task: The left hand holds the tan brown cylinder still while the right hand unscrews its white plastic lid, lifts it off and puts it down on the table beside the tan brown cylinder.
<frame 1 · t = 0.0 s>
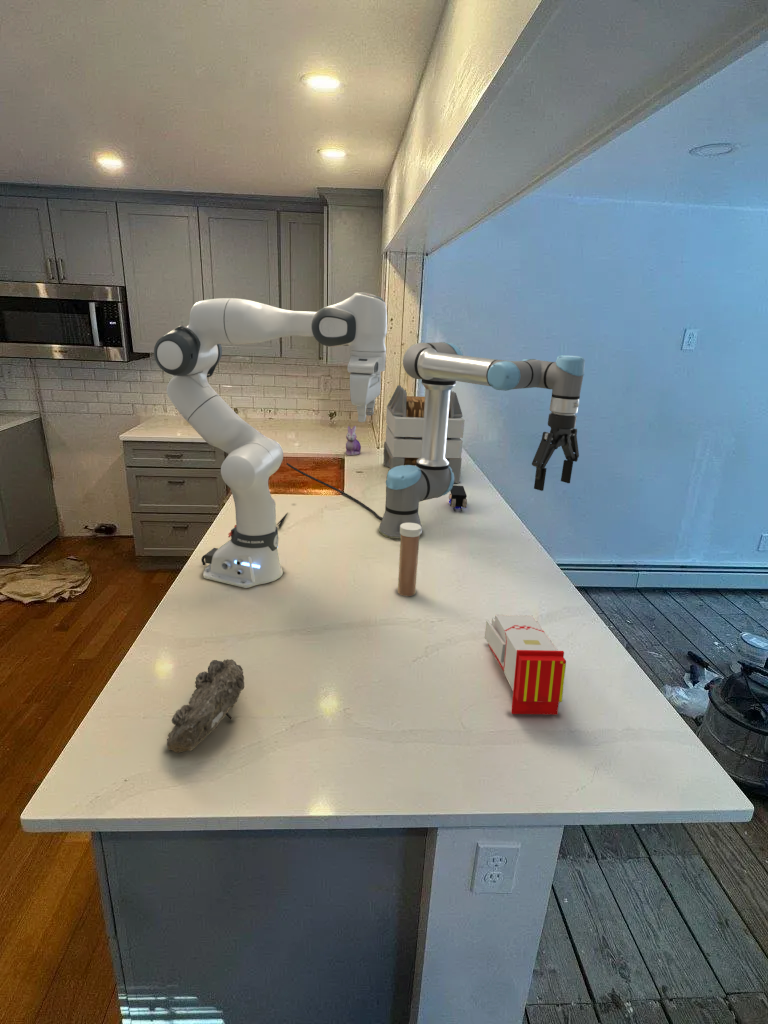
left hand: (365, 418, 145), 48 cm above the counter, tool pointing down, fingers open, 8 cm apart
right hand: (552, 485, 166), 28 cm above the counter, tool pointing down, fingers open, 13 cm apart
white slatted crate: (419, 473, 275), on the counter
toy: (516, 673, 125), on the counter
lid: (410, 527, 153), point 19 cm above the counter, screwed on, not yet turned
feather: (286, 516, 211), on the counter
figurine character: (456, 507, 229), on the counter
tan brown cylinder: (406, 591, 159), on the counter
figurine: (352, 453, 305), on the counter
fossil: (212, 717, 108), on the counter
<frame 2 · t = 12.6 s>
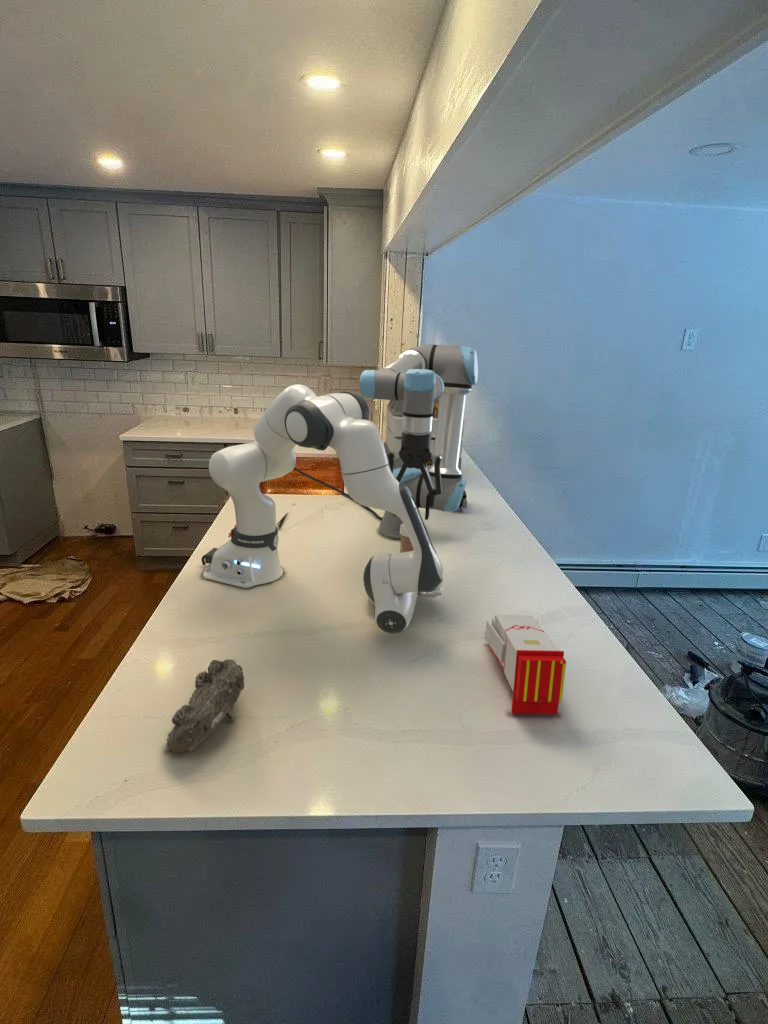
left hand: (408, 568, 158), 7 cm above the counter, tool horizontal, fingers closed on tan brown cylinder, 5 cm apart
right hand: (411, 516, 152), 23 cm above the counter, tool pointing down, fingers open, 8 cm apart
tan brown cylinder: (406, 591, 159), on the counter, touching left hand
everything else where it was.
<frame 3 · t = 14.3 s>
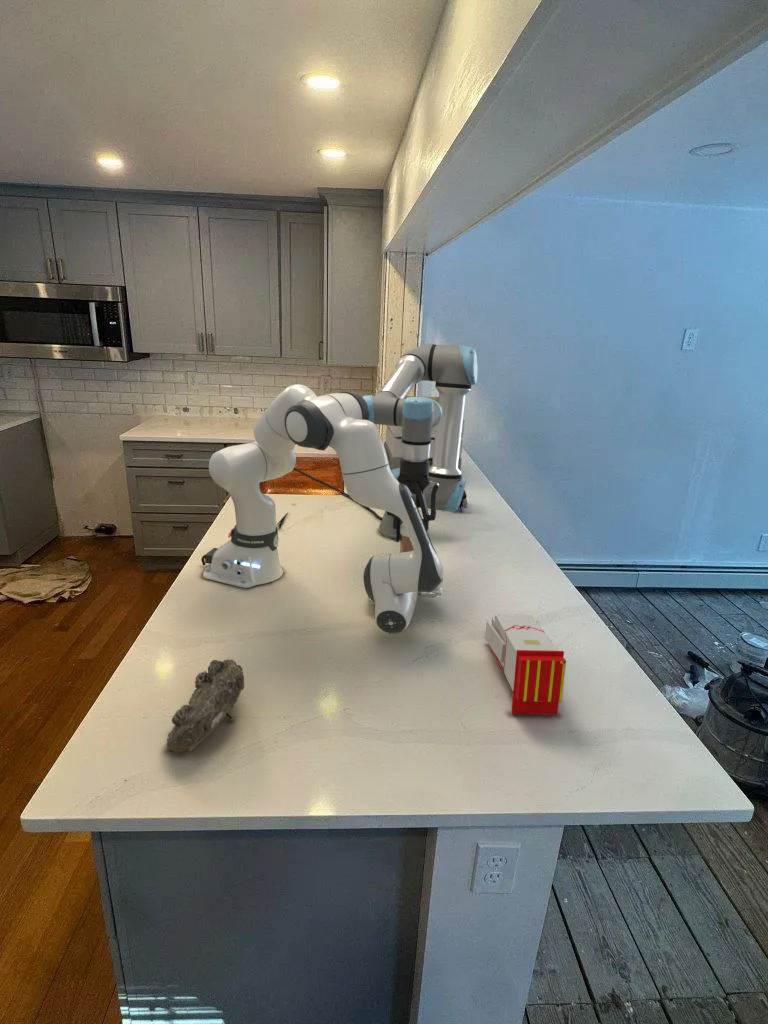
left hand: (408, 568, 158), 7 cm above the counter, tool horizontal, fingers closed on tan brown cylinder, 5 cm apart
right hand: (409, 541, 154), 15 cm above the counter, tool pointing down, fingers closed on lid, 6 cm apart
lid: (410, 527, 153), point 19 cm above the counter, screwed on, not yet turned, touching right hand
tan brown cylinder: (406, 591, 159), on the counter, touching left hand
everything else where it was.
when the right hand's fingers open (16 cm above the counter, at t = 15.7 s): lid stays where it is, point 20 cm above the counter.
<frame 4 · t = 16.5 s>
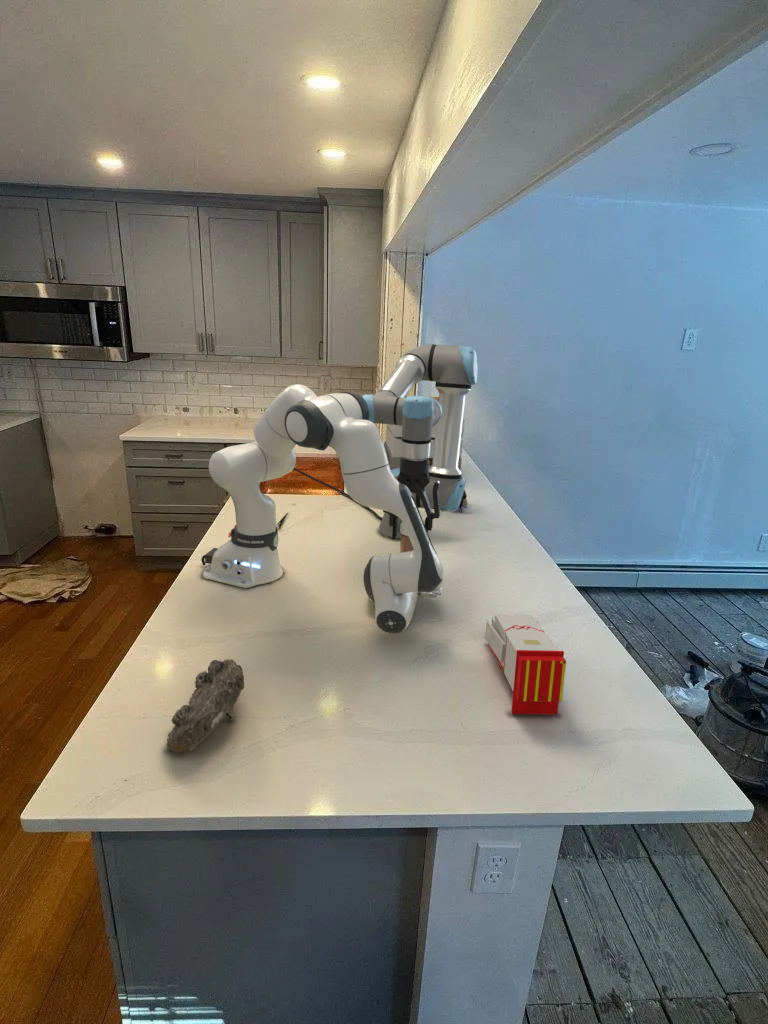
left hand: (408, 568, 158), 7 cm above the counter, tool horizontal, fingers closed on tan brown cylinder, 5 cm apart
right hand: (409, 539, 154), 16 cm above the counter, tool pointing down, fingers open, 8 cm apart
lid: (410, 526, 153), point 20 cm above the counter, turned 91° so far, risen 0.3 cm, still on its thread
tan brown cylinder: (406, 591, 159), on the counter, touching left hand
everything else where it was.
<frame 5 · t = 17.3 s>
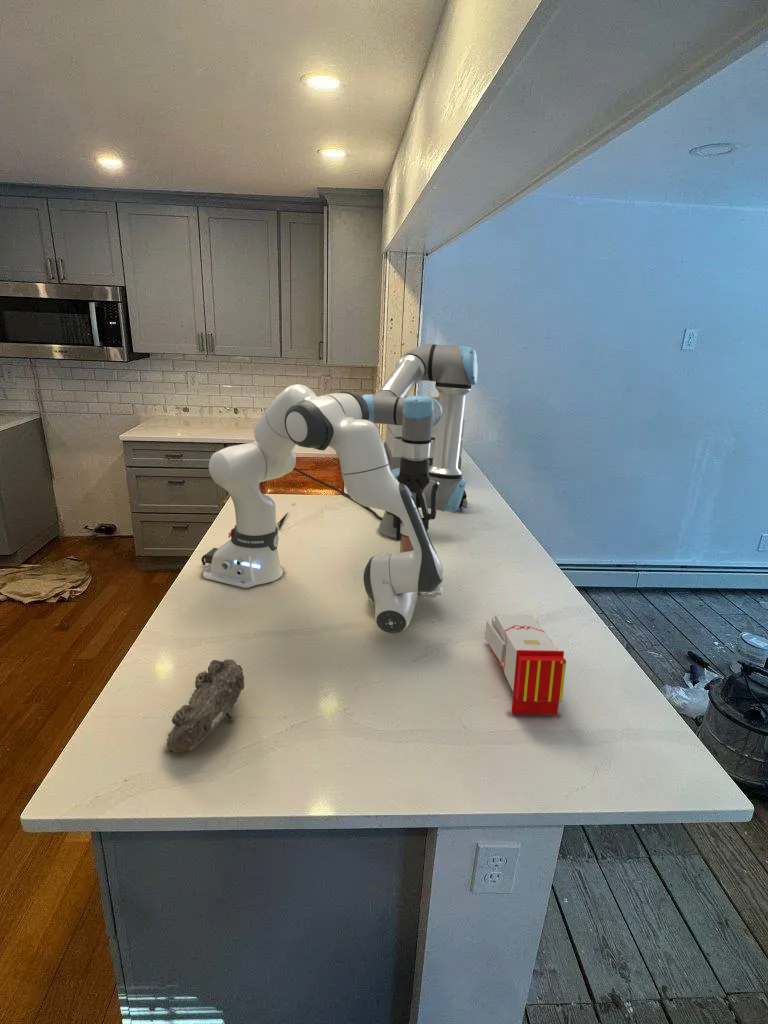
left hand: (408, 568, 158), 7 cm above the counter, tool horizontal, fingers closed on tan brown cylinder, 5 cm apart
right hand: (409, 540, 154), 16 cm above the counter, tool pointing down, fingers closed on lid, 6 cm apart
lid: (410, 526, 153), point 20 cm above the counter, turned 91° so far, risen 0.3 cm, still on its thread, touching right hand
tan brown cylinder: (406, 591, 159), on the counter, touching left hand
everything else where it was.
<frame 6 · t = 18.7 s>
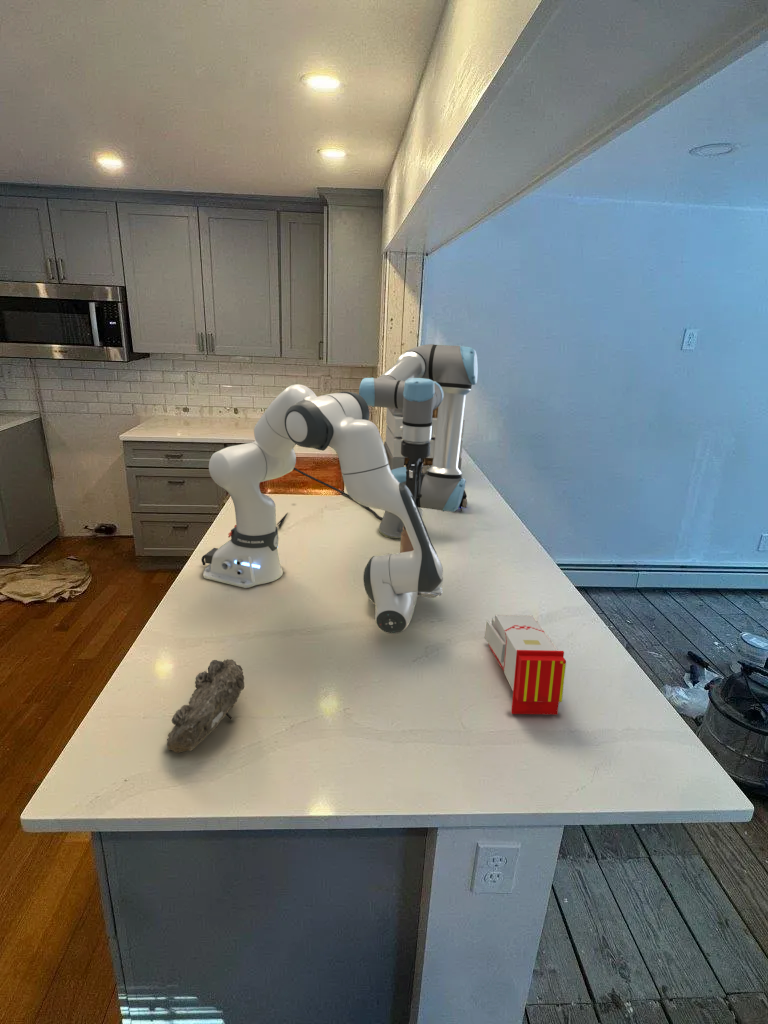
left hand: (408, 568, 158), 7 cm above the counter, tool horizontal, fingers closed on tan brown cylinder, 5 cm apart
right hand: (411, 524, 153), 20 cm above the counter, tool pointing down, fingers closed on lid, 6 cm apart
lid: (411, 510, 151), point 24 cm above the counter, off its thread, touching right hand
tan brown cylinder: (406, 591, 159), on the counter, touching left hand
everything else where it was.
when the right hand's fingers open (0 cm above the counter, at t = 24.1 s): lid drops 2 cm, point 2 cm above the counter.
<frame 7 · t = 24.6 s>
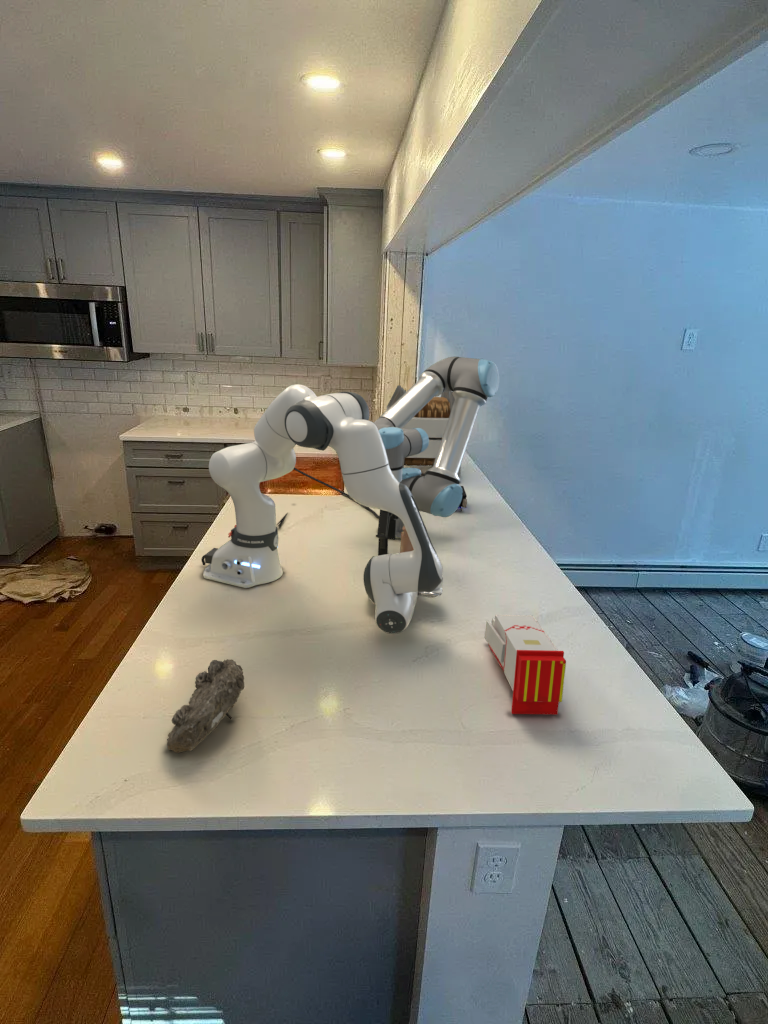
left hand: (408, 568, 158), 7 cm above the counter, tool horizontal, fingers closed on tan brown cylinder, 5 cm apart
right hand: (386, 547, 173), 6 cm above the counter, tool pointing down, fingers open, 13 cm apart
lid: (384, 561, 173), point 2 cm above the counter, off its thread
tan brown cylinder: (406, 591, 159), on the counter, touching left hand
everything else where it was.
when the left hand's fingers open (7 cm above the counter, at t = 24.8 s): tan brown cylinder stays where it is, on the counter.
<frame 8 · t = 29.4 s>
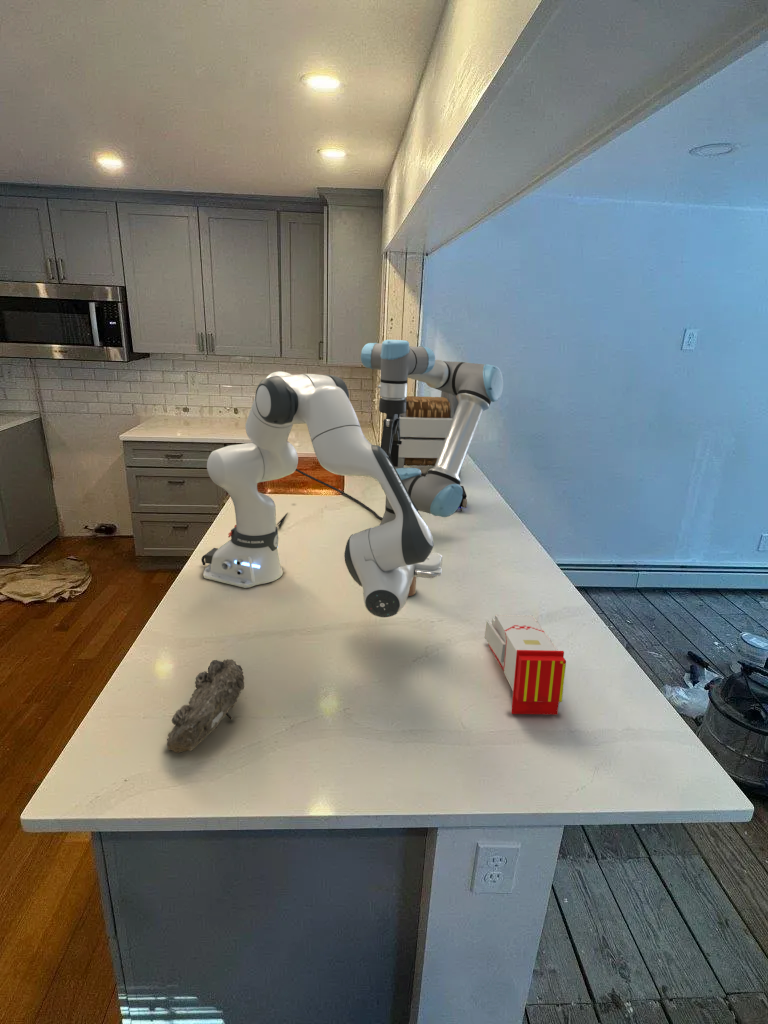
left hand: (403, 547, 141), 19 cm above the counter, tool horizontal, fingers open, 8 cm apart
right hand: (389, 472, 164), 30 cm above the counter, tool pointing down, fingers open, 13 cm apart
tan brown cylinder: (406, 591, 159), on the counter
everything else where it was.
at the end: lid came off its thread; lid point 1.7 cm above the counter; the left hand is holding nothing; the right hand is holding nothing; tan brown cylinder tilted 0°; tan brown cylinder moved 0.0 cm from its start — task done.
